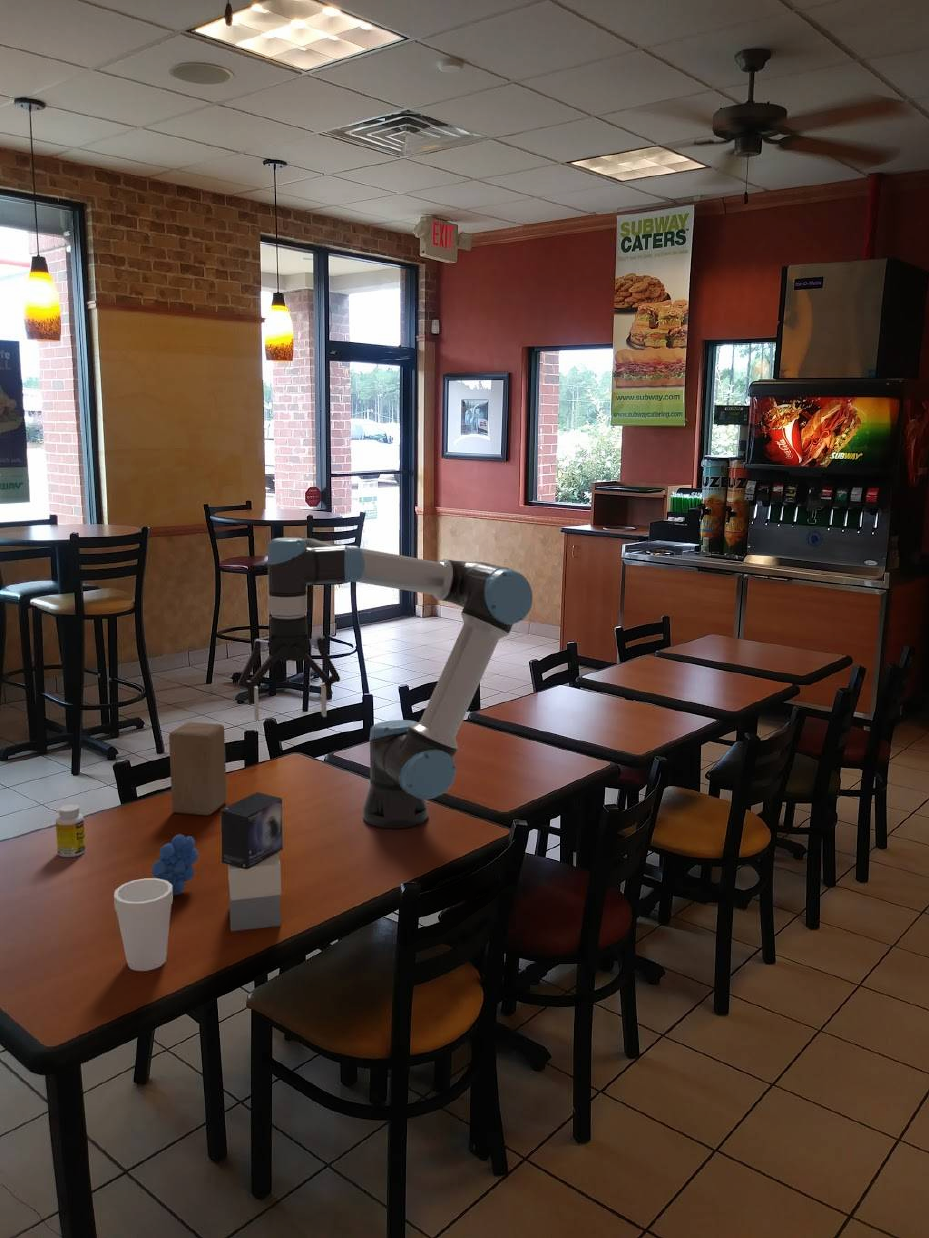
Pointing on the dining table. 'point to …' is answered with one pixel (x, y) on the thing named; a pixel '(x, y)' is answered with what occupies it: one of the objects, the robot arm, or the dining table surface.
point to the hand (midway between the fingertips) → (290, 717)
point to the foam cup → (144, 921)
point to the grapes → (176, 862)
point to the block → (197, 768)
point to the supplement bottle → (70, 831)
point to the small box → (251, 830)
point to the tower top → (256, 879)
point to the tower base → (254, 912)
